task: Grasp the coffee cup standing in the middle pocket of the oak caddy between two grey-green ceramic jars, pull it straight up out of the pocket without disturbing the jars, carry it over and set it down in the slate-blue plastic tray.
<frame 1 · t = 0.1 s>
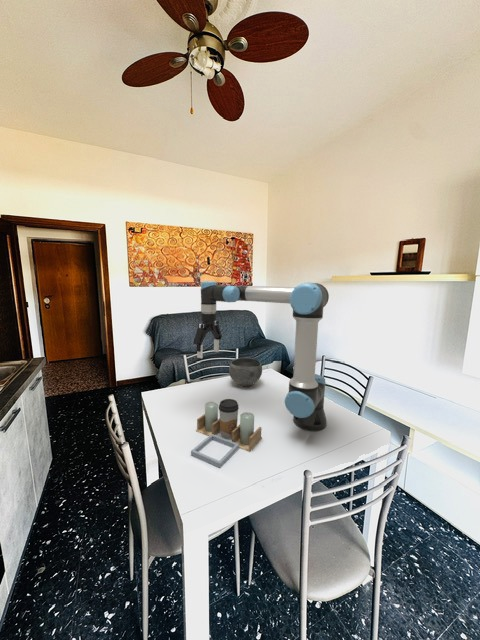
hand: (208, 354, 133), 28 cm above the table, fingers open, 13 cm apart
caddy: (228, 436, 111), on the table
jar 1: (211, 428, 115), point 1 cm above the table, touching caddy
jar 2: (246, 441, 107), point 1 cm above the table, touching caddy
coffee cup: (228, 436, 111), resting in caddy
bowl: (245, 384, 168), on the table
tray: (215, 453, 100), on the table
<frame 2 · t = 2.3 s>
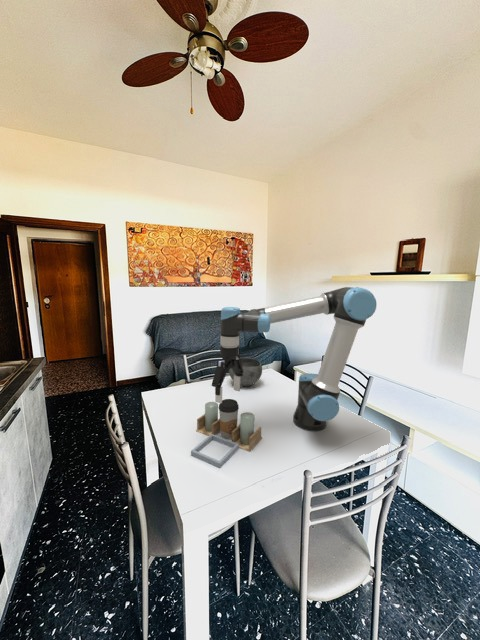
hand: (228, 396, 109), 18 cm above the table, fingers open, 13 cm apart
nothing on the table moved.
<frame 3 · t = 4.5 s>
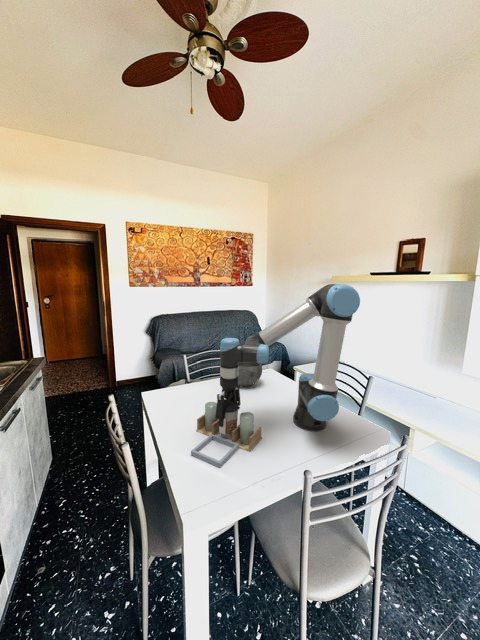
hand: (228, 427, 111), 4 cm above the table, fingers closed on coffee cup, 8 cm apart
coffee cup: (228, 436, 111), resting in caddy, touching gripper
everything else where it was.
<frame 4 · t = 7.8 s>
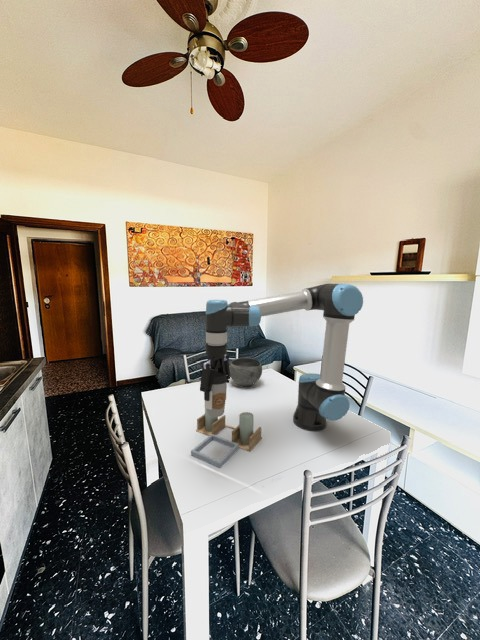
hand: (215, 403, 97), 20 cm above the table, fingers closed on coffee cup, 8 cm apart
coffee cup: (215, 413, 98), point 16 cm above the table, touching gripper
everything else where it was.
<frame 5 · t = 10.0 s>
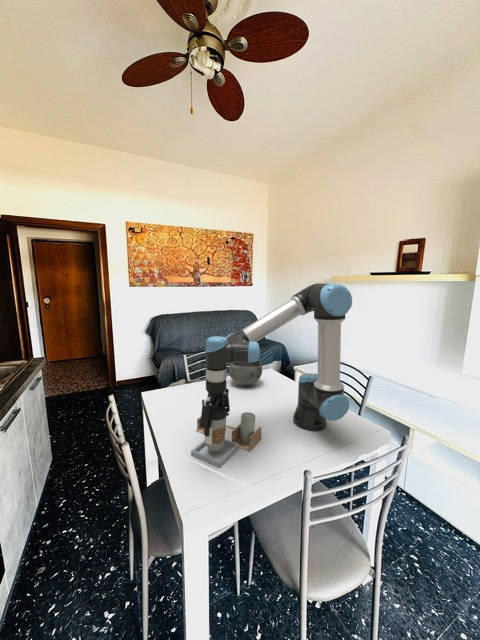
hand: (215, 437, 99), 7 cm above the table, fingers closed on coffee cup, 8 cm apart
coffee cup: (215, 446, 100), point 3 cm above the table, touching gripper
everything else where it was.
when the fingers open (6 cm above the table, at t = 11.0 s): coffee cup drops 2 cm, resting on tray.
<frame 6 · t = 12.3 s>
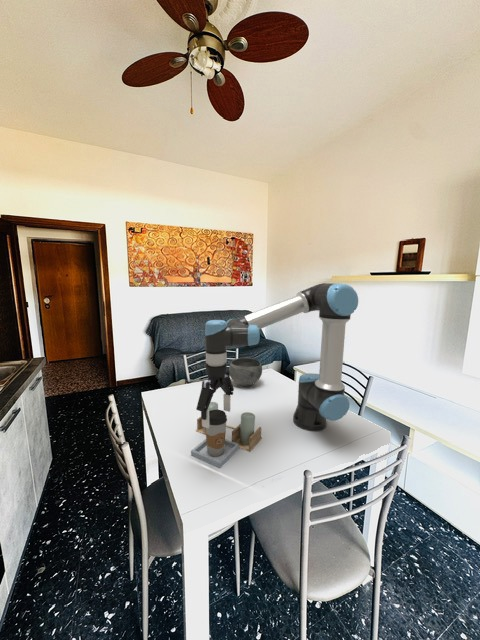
hand: (217, 418, 98), 14 cm above the table, fingers open, 13 cm apart
coffee cup: (215, 452, 100), point 1 cm above the table, touching tray
everything else where it was.
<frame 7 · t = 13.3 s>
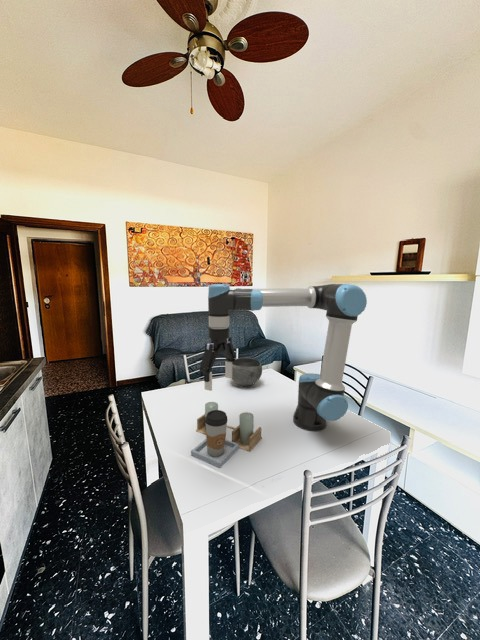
hand: (219, 383, 98), 27 cm above the table, fingers open, 13 cm apart
nothing on the table moved.
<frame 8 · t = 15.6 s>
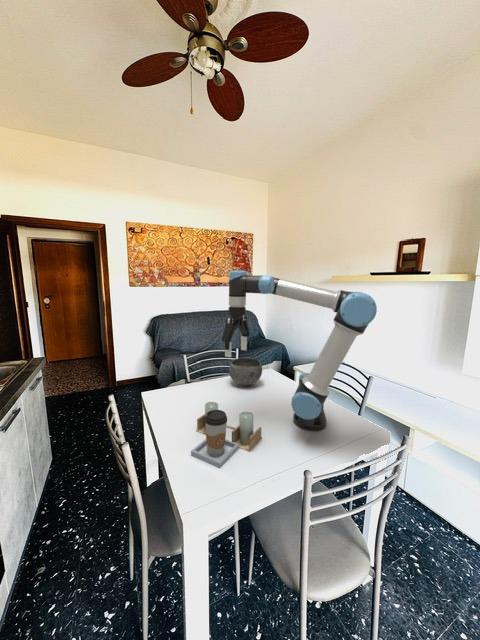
hand: (236, 353, 119), 33 cm above the table, fingers open, 13 cm apart
nothing on the table moved.
at the end: coffee cup inside the target area on the tray (0.1 cm from its centre), point 0.4 cm above the tray's base; coffee cup tilted 1°; jar 2 moved 0.1 cm from its start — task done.
